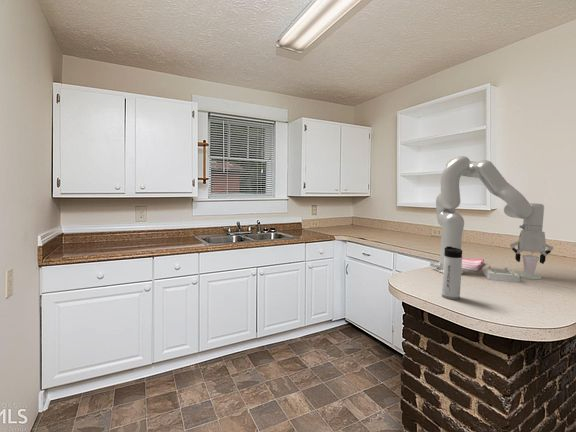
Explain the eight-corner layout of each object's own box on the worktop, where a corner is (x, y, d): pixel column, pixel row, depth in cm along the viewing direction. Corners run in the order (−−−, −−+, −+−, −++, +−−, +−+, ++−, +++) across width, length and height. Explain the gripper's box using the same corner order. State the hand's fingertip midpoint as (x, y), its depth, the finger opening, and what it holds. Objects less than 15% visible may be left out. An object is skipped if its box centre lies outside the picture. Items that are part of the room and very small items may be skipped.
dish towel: (484, 264, 176) (485, 258, 175) (477, 272, 158) (477, 266, 158) (452, 259, 187) (452, 254, 186) (442, 266, 169) (442, 260, 169)
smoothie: (530, 277, 145) (533, 249, 144) (517, 273, 152) (520, 246, 150) (540, 276, 147) (543, 249, 145) (526, 272, 153) (529, 246, 152)
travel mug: (453, 294, 123) (456, 246, 121) (463, 300, 116) (466, 249, 114) (438, 294, 123) (440, 246, 121) (447, 300, 116) (450, 249, 114)
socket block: (489, 279, 144) (489, 271, 143) (483, 273, 155) (483, 265, 155) (519, 282, 139) (519, 274, 139) (510, 275, 150) (511, 267, 150)
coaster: (520, 278, 147) (520, 276, 147) (513, 272, 156) (513, 271, 156) (545, 280, 143) (545, 279, 143) (536, 275, 152) (536, 273, 152)
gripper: (513, 228, 147) (511, 262, 148) (558, 230, 141) (555, 265, 142) (509, 226, 154) (506, 259, 155) (550, 228, 148) (548, 262, 149)
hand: (529, 262), depth 149 cm, fingers open, 9 cm apart
